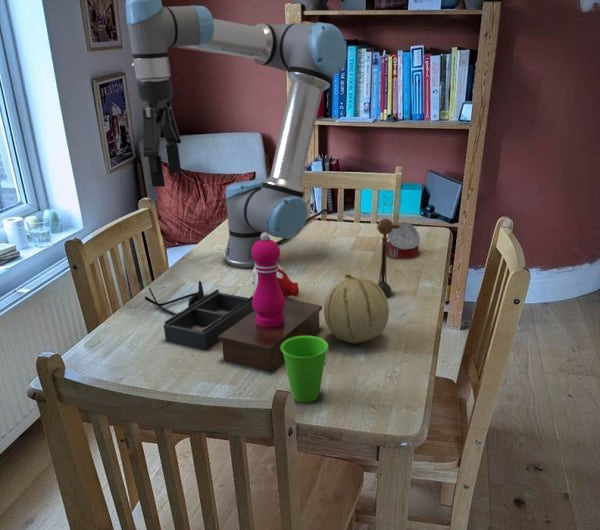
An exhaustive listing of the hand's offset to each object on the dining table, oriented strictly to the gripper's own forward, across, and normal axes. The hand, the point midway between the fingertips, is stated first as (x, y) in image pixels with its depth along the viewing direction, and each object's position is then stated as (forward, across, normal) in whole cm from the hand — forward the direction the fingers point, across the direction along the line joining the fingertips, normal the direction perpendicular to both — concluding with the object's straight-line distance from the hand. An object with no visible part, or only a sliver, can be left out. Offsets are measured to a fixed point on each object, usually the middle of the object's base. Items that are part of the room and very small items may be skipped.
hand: (167, 179), depth 151 cm
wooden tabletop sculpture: (+32, -8, +52) cm, 62 cm away
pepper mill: (+26, +24, +27) cm, 44 cm away
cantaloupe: (+32, +20, +46) cm, 59 cm away
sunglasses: (+31, +4, -2) cm, 32 cm away
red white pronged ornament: (+32, -3, +23) cm, 40 cm away
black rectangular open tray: (+31, +15, +11) cm, 36 cm away
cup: (+31, +45, +37) cm, 66 cm away
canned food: (+32, -41, +58) cm, 78 cm away
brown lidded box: (+31, +23, +27) cm, 48 cm away
